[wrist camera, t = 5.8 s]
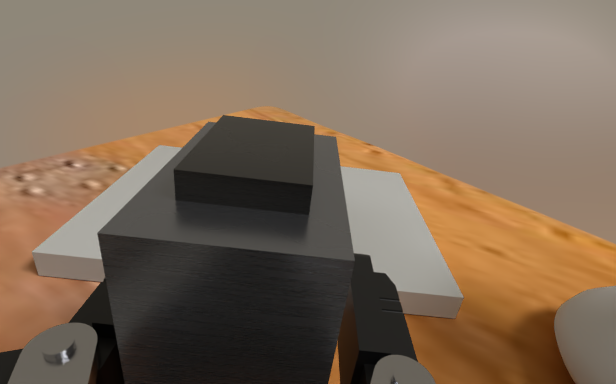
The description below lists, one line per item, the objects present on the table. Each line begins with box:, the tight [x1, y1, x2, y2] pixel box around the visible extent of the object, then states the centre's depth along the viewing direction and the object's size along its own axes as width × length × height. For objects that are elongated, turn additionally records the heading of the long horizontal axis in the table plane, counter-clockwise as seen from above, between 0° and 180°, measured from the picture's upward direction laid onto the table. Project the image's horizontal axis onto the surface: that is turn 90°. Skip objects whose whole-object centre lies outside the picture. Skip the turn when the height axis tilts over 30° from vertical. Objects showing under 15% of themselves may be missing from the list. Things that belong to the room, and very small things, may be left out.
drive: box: [97, 115, 355, 384], centre depth 9 cm, size 3×5×12 cm, turn 179°
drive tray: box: [32, 145, 464, 319], centre depth 25 cm, size 22×16×4 cm
